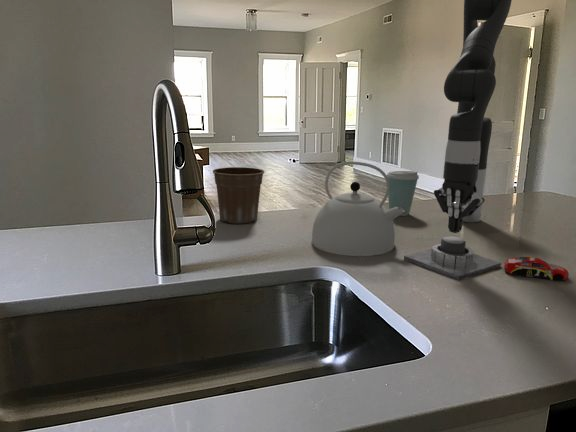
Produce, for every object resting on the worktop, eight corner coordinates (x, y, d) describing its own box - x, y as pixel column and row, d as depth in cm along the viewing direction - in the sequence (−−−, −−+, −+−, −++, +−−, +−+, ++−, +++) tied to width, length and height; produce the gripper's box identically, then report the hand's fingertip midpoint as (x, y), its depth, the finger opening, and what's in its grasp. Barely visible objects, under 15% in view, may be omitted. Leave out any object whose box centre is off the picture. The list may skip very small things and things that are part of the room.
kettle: (411, 239, 134) (417, 160, 129) (390, 263, 114) (396, 171, 109) (329, 227, 145) (332, 154, 139) (297, 248, 125) (299, 163, 120)
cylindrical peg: (434, 257, 115) (436, 238, 114) (449, 253, 118) (451, 234, 117) (453, 264, 111) (455, 244, 110) (468, 260, 114) (470, 240, 113)
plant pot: (256, 212, 163) (255, 165, 159) (270, 223, 148) (271, 173, 144) (209, 215, 157) (208, 167, 153) (220, 228, 143) (218, 175, 139)
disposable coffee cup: (378, 213, 162) (380, 170, 159) (393, 208, 170) (396, 167, 167) (406, 219, 156) (410, 174, 152) (420, 213, 164) (424, 170, 160)
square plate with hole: (403, 259, 117) (404, 246, 116) (445, 248, 125) (446, 236, 125) (458, 280, 104) (460, 265, 103) (500, 266, 113) (502, 252, 112)
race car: (565, 276, 108) (568, 259, 107) (569, 284, 103) (573, 267, 102) (503, 267, 113) (505, 251, 112) (504, 275, 108) (506, 259, 107)
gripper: (428, 157, 112) (422, 227, 116) (477, 164, 101) (468, 241, 106) (448, 155, 116) (442, 223, 120) (497, 162, 105) (488, 236, 110)
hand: (454, 231), depth 113 cm, fingers closed
